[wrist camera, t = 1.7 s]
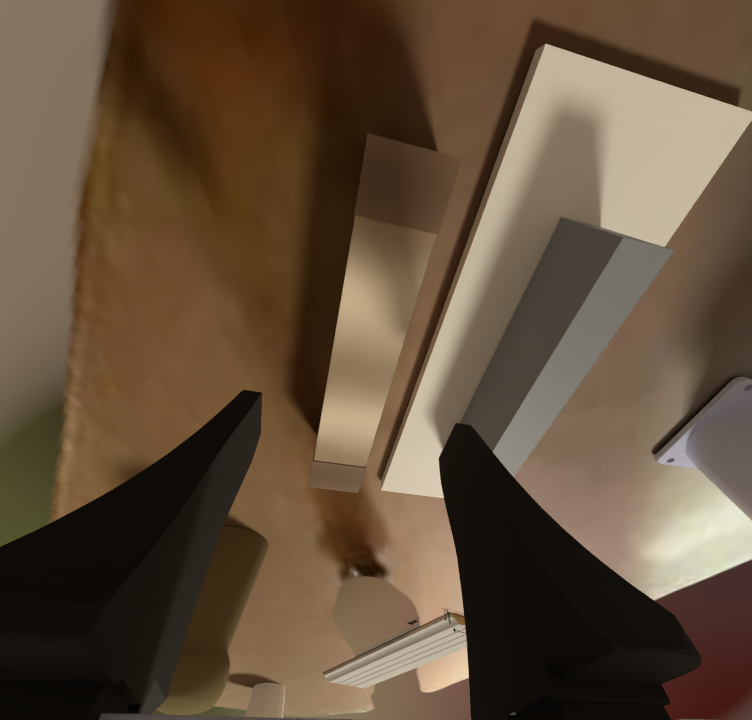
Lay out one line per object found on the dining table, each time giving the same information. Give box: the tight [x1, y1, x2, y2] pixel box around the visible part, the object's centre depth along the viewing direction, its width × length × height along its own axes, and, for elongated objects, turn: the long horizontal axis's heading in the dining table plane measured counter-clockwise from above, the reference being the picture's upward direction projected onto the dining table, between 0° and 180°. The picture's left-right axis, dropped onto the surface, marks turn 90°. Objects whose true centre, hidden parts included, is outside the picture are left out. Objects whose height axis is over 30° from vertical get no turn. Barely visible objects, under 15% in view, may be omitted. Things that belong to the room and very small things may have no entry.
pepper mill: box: [156, 526, 268, 715], centre depth 26 cm, size 6×6×11 cm
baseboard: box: [323, 611, 467, 688], centre depth 47 cm, size 30×3×10 cm
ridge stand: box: [381, 44, 752, 498], centre depth 17 cm, size 9×26×5 cm, turn 168°
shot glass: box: [245, 683, 286, 718], centre depth 54 cm, size 7×7×7 cm
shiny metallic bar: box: [308, 133, 462, 493], centre depth 17 cm, size 18×3×4 cm, turn 168°
